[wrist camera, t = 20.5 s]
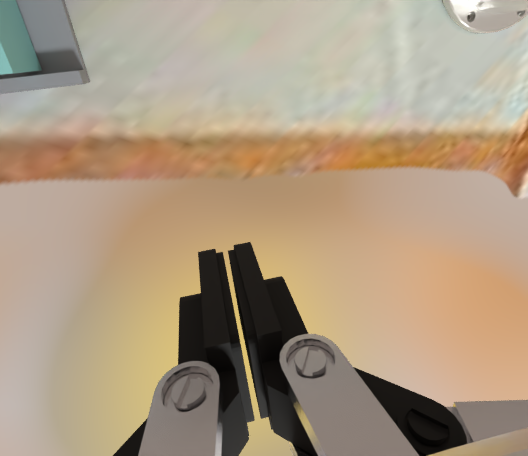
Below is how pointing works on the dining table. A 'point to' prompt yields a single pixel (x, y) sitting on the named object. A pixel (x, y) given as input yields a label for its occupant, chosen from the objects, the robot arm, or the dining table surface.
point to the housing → (48, 49)
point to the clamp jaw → (15, 41)
